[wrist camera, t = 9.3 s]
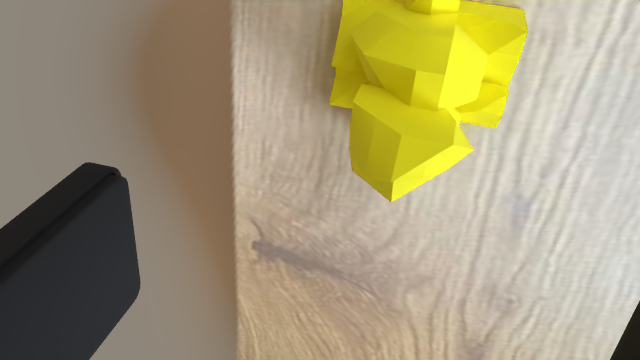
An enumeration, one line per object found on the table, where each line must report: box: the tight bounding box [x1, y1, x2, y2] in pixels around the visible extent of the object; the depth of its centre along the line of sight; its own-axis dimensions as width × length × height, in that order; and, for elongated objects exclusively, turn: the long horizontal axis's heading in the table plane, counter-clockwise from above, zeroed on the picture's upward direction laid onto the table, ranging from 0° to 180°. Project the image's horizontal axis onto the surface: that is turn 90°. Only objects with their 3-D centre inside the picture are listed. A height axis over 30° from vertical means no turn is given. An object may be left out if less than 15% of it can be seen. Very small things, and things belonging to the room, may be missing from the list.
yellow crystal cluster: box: [329, 0, 528, 202], centre depth 17 cm, size 6×8×8 cm
